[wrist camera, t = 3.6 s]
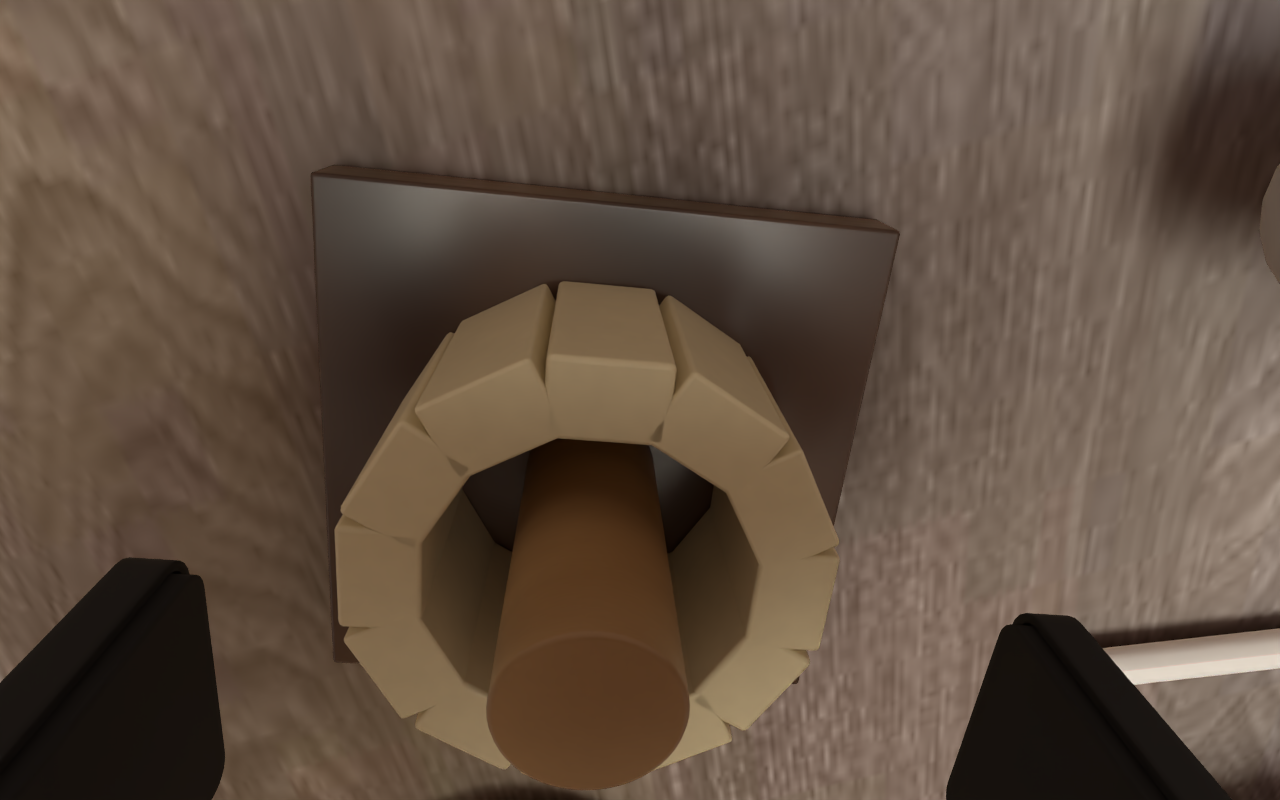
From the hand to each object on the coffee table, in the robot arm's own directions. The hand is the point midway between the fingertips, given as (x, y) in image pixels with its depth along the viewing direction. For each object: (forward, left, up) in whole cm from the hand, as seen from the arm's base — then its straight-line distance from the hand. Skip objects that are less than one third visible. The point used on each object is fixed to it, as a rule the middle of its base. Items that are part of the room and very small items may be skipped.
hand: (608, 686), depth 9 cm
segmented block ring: (0, 0, -6) cm, 6 cm away
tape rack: (0, 0, -7) cm, 7 cm away
